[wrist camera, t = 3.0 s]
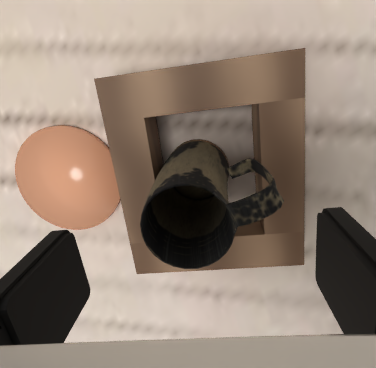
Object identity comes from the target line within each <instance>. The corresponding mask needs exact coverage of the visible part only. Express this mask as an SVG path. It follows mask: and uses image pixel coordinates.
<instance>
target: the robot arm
mask: <svg viewBox="0 0 376 368" xmlns="http://www.w3.org/2000/svg"><path fill="white" fill-rule="evenodd" d="M316 281H317V284H318V286H319V288H320V290H321V292H322V294H323V296H324V298H325V300H326V301H327V303H328V305H329V307H330V309H331V311H332V313H333V314H334V316H335V318H336V320H337V322H338V324H339V326H340V328H341V329H342V331H343V333H344V334H328V335H293V336H258V337H226V338H197V339H167V340H138V341H110V342H80V343H64V341H65V339H66V337H67V336H68V334H69V332H70V330H71V328H72V327H73V325H74V323H75V321H76V320H77V318H78V316H79V314H80V312H81V311H82V309H83V307H84V305H85V304H86V302H87V300H88V298H89V296H90V286H89V283H88V280H87V276H86V273H85V270H84V266H83V263H82V260H81V257H80V253H79V250H78V247H77V243H76V240H75V237H74V235H73V234H72V233H70V232H69V231H68V230H59V231H52V232H50V233H49V234H48V235H47V236H46V237H45V238H44V239H43V240H42V241H41V242H39V243H38V244H37V245H36V246H35V247H34V248H33V249H32V250H31V251H30V252H29V253H28V254H27V255H26V256H25V257H23V258H22V259H21V260H20V261H19V262H18V263H17V264H16V265H15V266H14V267H13V268H12V269H11V270H10V271H9V272H7V273H6V274H5V275H4V276H3V277H2V278H1V279H0V368H376V239H375V238H374V237H373V236H372V235H371V234H370V233H369V232H367V231H366V230H365V229H364V228H363V227H362V226H361V225H360V224H359V223H358V222H357V221H356V220H355V219H354V218H353V217H351V216H350V215H349V214H348V213H347V212H346V211H345V210H344V209H343V208H341V207H338V208H326V209H323V211H322V213H318V215H317V241H316Z"/></svg>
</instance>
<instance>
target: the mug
mask: <svg viewBox="0 0 376 368" xmlns="http://www.w3.org/2000/svg"><path fill="white" fill-rule="evenodd" d="M248 172H256V173H258V174H260V175H262V176H263V177H264V179H265V180H266V181H267V182H268V183H269V185H268V186H267V187H265V188H264V189H262V190H261V191H260V192H257V193H255V194H253V195H251V196H249V197H246V198H244V199H241V200H239V201H236V202H232V203H229V201H228V195H227V181H228V177H229V174H230V176H231V178H232V179H233V178H235V177H238V176H240V175H243V174H245V173H248ZM283 202H284V200H283V198H282V196H281V195H280V193H279V192H278V190H277V186H276V183H275V179H274V178H273V176H272V175H271V174H270V173H269V171H268V170H267V169H266V168H265V167H264V166H263V165H262V164H261V163H259V162H258V161H257V160H254V159H247V160H244V161H241V162H239V163H237V164H235V165H233V166H231V167H230V168H229V164H228V160H227V157H226V156H225V154H224V153H223V151H222V150H221V149H220V148H219V147H218V146H217V145H215V144H213V143H211V142H209V141H206V140H200V139H198V140H190V141H187V142H184V143H183V144H181V145H180V146H178V147H177V148H176V149H175V150H174V152H173V153H172V154H171V156H170V157H169V159H168V160H167V161H166V162H165V164H164V166H163V167H162V169H161V171H160V172H159V174H158V176H157V178H156V180H155V182H154V184H153V186H152V188H151V190H150V192H149V195H148V197H147V199H146V202H145V205H144V208H143V211H142V214H141V222H140V228H141V234H142V238H143V240H144V242H145V244H146V246H147V247H148V249H149V250H150V251H151V252H152V254H153V255H154V256H156V257H157V258H158V259H160V260H161V261H162V262H164V263H166V264H169V265H171V266H173V267H177V268H182V269H198V268H202V267H206V266H209V265H211V264H213V263H215V262H217V261H218V260H220V259H221V258H222V257H223V256H224V255H225V254H226V253H227V251H228V250H229V248H230V247H231V245H232V243H233V239H234V236H235V233H236V231H237V228H238V227H239V226H244V225H248V224H251V223H254V222H257V221H259V220H262V219H264V218H266V217H268V216H270V215H272V214H274V213H275V212H276V211H277V210H279V209H280V208H281V206H282V204H283Z"/></svg>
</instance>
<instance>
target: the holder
mask: <svg viewBox="0 0 376 368" xmlns="http://www.w3.org/2000/svg"><path fill="white" fill-rule="evenodd" d="M94 80H95V85H96V89H97V94H98V99H99V103H100V108H101V112H102V117H103V121H104V126H105V131H106V135H107V140H108V144H109V149H110V154H111V158H112V163H113V167H114V172H115V176H116V181H117V186H118V190H119V195H120V199H121V204H122V208H123V213H124V218H125V222H126V227H127V231H128V236H129V240H130V245H131V250H132V254H133V259H134V263H135V268H136V272H137V274H145V273H163V272H181V271H200V270H218V269H236V268H254V267H272V266H291V265H304V201H305V48H302V49H295V50H288V51H281V52H274V53H268V54H261V55H254V56H247V57H240V58H233V59H227V60H220V61H213V62H206V63H199V64H192V65H186V66H179V67H172V68H165V69H158V70H151V71H145V72H138V73H131V74H124V75H117V76H110V77H104V78H97V79H94ZM250 104H251V107H252V126H253V145H254V160H257V161H258V162H259V163H261V164H262V165H263V166H264V167H265V168H266V169H267V170H268V171H269V173H270V174H271V175H272V176H273V178H274V179H275V183H276V186H277V190H278V192H279V193H280V195H281V196H282V198H283V200H284V202H283V204H282V206H281V208H280V209H279V210H277V211H276V212H275V213H274V214H272V215H270V216H268V217H266V218H264V219H262V220H259V221H257V222H254V223H251V224H248V225H244V226H239V227H238V228H237V231H236V233H235V236H234V239H233V243H232V245H231V247H230V248H229V250H228V251H227V253H226V254H225V255H224V256H223V257H222V258H221V259H220V260H218V261H217V262H215V263H213V264H211V265H209V266H206V267H202V268H198V269H182V268H177V267H173V266H171V265H169V264H166V263H164V262H162V261H161V260H160V259H158V258H157V257H156V256H154V255H153V254H152V252H151V251H150V250H149V249H148V247H147V246H146V244H145V242H144V240H143V238H142V234H141V228H140V222H141V214H142V211H143V208H144V205H145V202H146V199H147V197H148V195H149V192H150V190H151V188H152V186H153V184H154V182H155V180H156V178H157V176H158V174H159V172H160V171H161V169H162V167H163V159H162V153H161V147H160V141H159V134H158V128H157V122H156V116H162V115H170V114H178V113H186V112H194V111H202V110H210V109H218V108H226V107H234V106H242V105H250ZM255 182H256V193H257V192H260V191H261V190H262V189H264V188H265V187H267V186H268V185H269V183H268V182H267V181H266V180H265V179H264V177H263V176H262V175H260V174H258V173H256V172H255Z"/></svg>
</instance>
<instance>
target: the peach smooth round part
mask: <svg viewBox="0 0 376 368" xmlns="http://www.w3.org/2000/svg"><path fill="white" fill-rule="evenodd" d="M15 175H16V181H17V184H18V187H19V190H20V192H21V194H22V196H23V198H24V200H25V201H26V202H27V204H28V205H29V206H30V207H31V209H32V210H33V211H34V212H35V213H36V214H38V215H39V216H40V217H41V218H43V219H44V220H46V221H48V222H49V223H51V224H54V225H56V226H59V227H62V228H66V229H73V230H81V229H88V228H91V227H94V226H96V225H99V224H100V223H102V222H104V221H105V220H106V219H107V218H108V217H109V216H110V215H111V214H112V213H113V212H114V210H115V209H116V207H117V206H118V204H119V201H120V195H119V190H118V186H117V181H116V176H115V172H114V167H113V163H112V158H111V154H110V149H109V148H108V147H107V146H106V145H105V144H104V142H102V141H101V140H100V139H99V138H98V137H96V136H95V135H93V134H92V133H90V132H88V131H86V130H83V129H80V128H78V127H73V126H65V125H60V126H52V127H48V128H44V129H41V130H39V131H37V132H35V133H33V134H32V135H31V136H30V137H28V138H27V139H26V141H25V142H24V143H23V144H22V146H21V147H20V150H19V152H18V154H17V158H16V164H15Z"/></svg>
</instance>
